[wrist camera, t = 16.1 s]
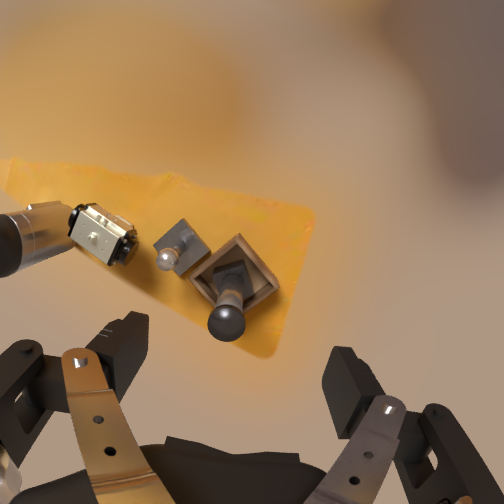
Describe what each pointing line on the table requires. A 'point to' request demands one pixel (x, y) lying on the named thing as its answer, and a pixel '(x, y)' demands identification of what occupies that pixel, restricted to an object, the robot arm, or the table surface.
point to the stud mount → (179, 248)
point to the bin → (230, 253)
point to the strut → (230, 301)
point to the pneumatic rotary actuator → (103, 234)
